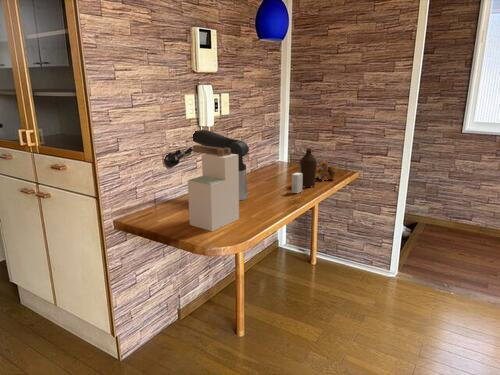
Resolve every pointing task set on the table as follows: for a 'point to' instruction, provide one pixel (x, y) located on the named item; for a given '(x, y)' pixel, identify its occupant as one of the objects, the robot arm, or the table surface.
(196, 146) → the walnut T-handle
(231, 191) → the stepped stand
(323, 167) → the stuffed squirrel
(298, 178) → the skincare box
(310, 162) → the olive oil
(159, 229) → the table surface
